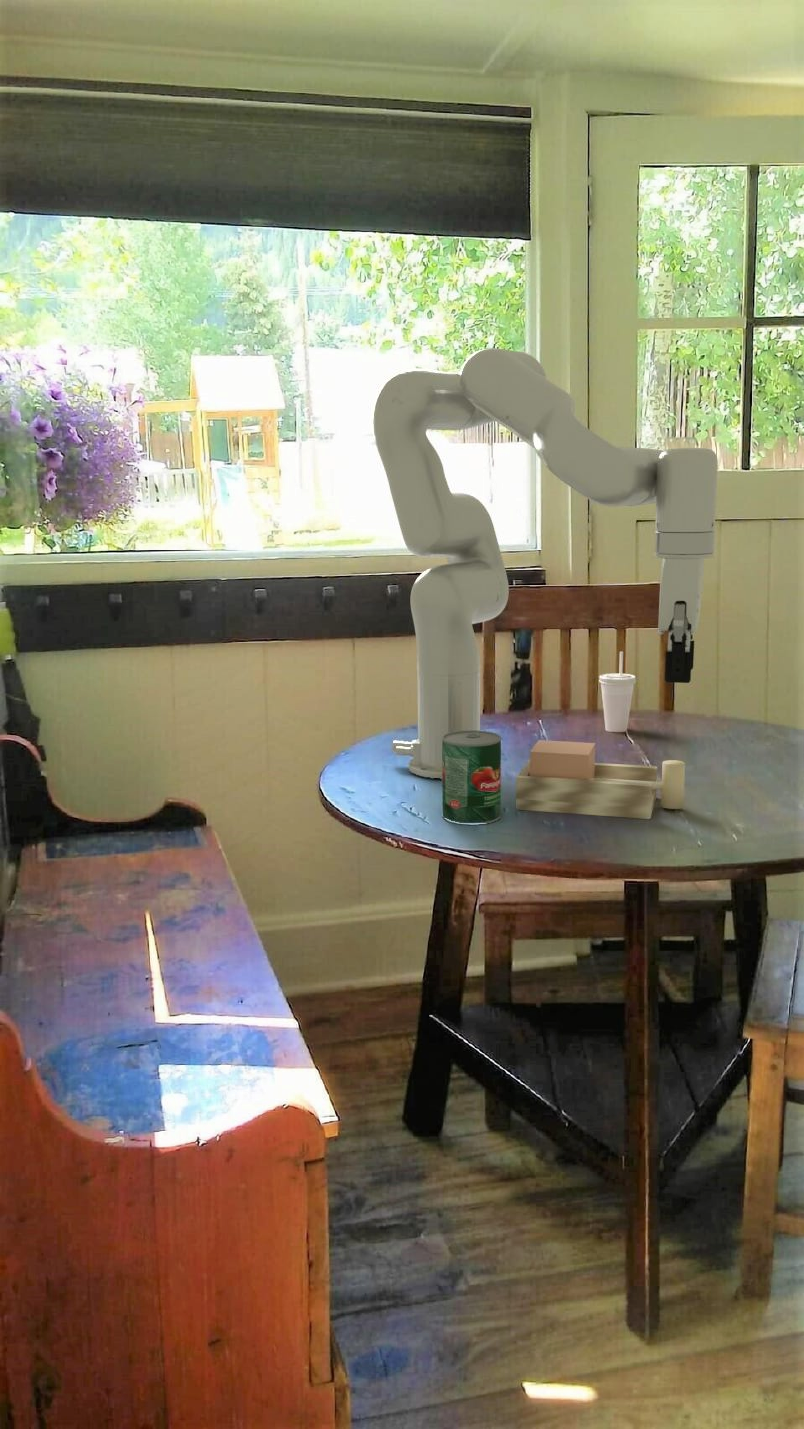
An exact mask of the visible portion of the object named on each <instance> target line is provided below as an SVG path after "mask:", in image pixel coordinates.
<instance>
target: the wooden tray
mask: <svg viewBox="0 0 804 1429" xmlns="http://www.w3.org/2000/svg"><path fill="white" fill-rule="evenodd" d="M594 778H604V779H620V780H636V781H652V782H658V766H657V765H656V766H655V765H638V764H622V763H621V764H619V763H606V762H605V763H604V762H595V774H594ZM515 781H516V782H515V785H516V786H515V787H516V788H515V810H518V811H533V812H544V813H545V812H547V813H560V814H575V815H588V816H600V817H601V816H602V817H615V818H616V817H617V818H627V819H628V818H629V819H631V818H632V819H643V820H644V819H645V820H650V819H651V818H652V815H653V811H654V807H655V803H656V800H657V799H656V798H657V789H652V784H645V783H629V782H614V781H598V780H582V779H566V778H550V777H534V776H530V759H529V760H528V761H527V763H526V764H525V765H524V767H523V768H522V769H521V770H520V772H519V774H518V775H517V776H516V779H515Z"/></svg>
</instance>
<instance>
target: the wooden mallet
mask: <svg viewBox="0 0 804 1429" xmlns="http://www.w3.org/2000/svg"><path fill="white" fill-rule="evenodd" d="M529 760H530V776H534V777H550V778H566V779H582V780H598V781H614V782H629V783H645V784H652V789H656V790H661V791H660V792H661V793H660V794H661V795H660V796H661V797H660V806H661V807H662V808H666V809H669V810H670V809H671V810H672V809H673V810H678V809H682V808H684V803H685V802H684V801H685V799H684V798H685V778H686V777H685V776H686V762H684V761H682V760H677V759H676V760H675V759H668V760H663V761H662V762H661V764H662V767H661V768H662V769H661V781H657V782H652V781H636V780H620V779H604V778H594V774H595V763H596V743H595V742H583V741H581V742H580V741H579V742H578V741H577V742H576V741H562V740H560V741H559V740H545V739H544V740H542V739H538V740H537V741H536V743H535V744H534V746H533V747H531V749H530V751H529Z"/></svg>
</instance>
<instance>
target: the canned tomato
mask: <svg viewBox="0 0 804 1429" xmlns="http://www.w3.org/2000/svg"><path fill="white" fill-rule="evenodd" d="M501 761H502V736H501V735H500V734H498V733H495V732H493V731H486V730H480V731H476V730H467V731H456V732H450V733H447V734H445V735H443V736H442V779H441V781H442V785H441V786H442V790H441V792H442V793H441V794H442V796H441V797H442V800H441V801H442V802H441V804H442V813H443V817H444V818H447V819H449V820H451V821H455V822H459V823H490V824H492V823H491V822H494V821H496V822H497V820H498V819H499V818H500V819H502V818H501V817H502V814H501V809H502V806H501V804H502V803H501V802H502V800H501V799H502V794H501V793H502V790H501V788H502V787H501V786H502V785H501V782H502V779H501V778H502V776H501V775H502V767H501V765H502V762H501ZM500 819H499V820H500ZM499 820H498V821H499ZM494 823H495V822H494Z"/></svg>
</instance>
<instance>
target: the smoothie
mask: <svg viewBox="0 0 804 1429" xmlns="http://www.w3.org/2000/svg"><path fill="white" fill-rule="evenodd" d="M623 660H624V651H619V668H618V672H619V673H618V672H617V673H616V672H614V673H611V672H610V673H604V674H600V675H599V680H598V682H599V683H600V687H601V688H600V689H601V696H602V697H601V698H602V708H603V716H604V717H603V719H604V726H605V731H606V732H611V733H624V732H627V729H628V724H629V718H630V717H629V716H630V713H631V712H630V711H631V705H632V704H631V703H632V698H633V692H634V686H635V685H634V684H636V683H637V680H636V678H637V677H636V675H634V674H629V673H623V667H624V666H623V665H624V664H623V662H624V661H623Z"/></svg>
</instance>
